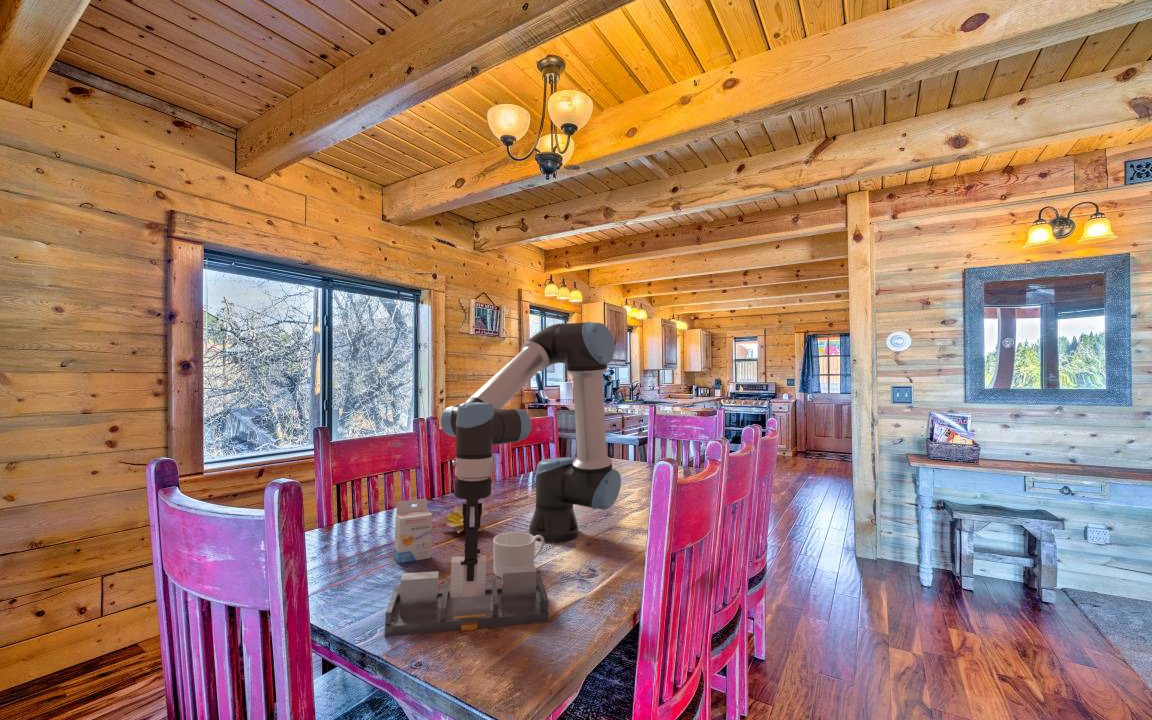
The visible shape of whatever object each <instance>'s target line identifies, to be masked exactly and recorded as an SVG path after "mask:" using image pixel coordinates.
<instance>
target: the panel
mask: <svg viewBox="0 0 1152 720" xmlns="http://www.w3.org/2000/svg"><path fill="white" fill-rule="evenodd" d="M464 560H465V556H452V557H451V564H450V565H451V566H450V567H451V568H450V582H449V591H450V598H458V597H463V572H464V565H461V561H464ZM477 560H478V562H477V592H476V596H465V597H477V596H485V588H486V584H487V555H477Z"/></svg>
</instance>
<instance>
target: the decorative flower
mask: <svg viewBox="0 0 1152 720" xmlns="http://www.w3.org/2000/svg"><path fill="white" fill-rule="evenodd" d="M478 503H482V515H481V519H482V518H483V517H484V516H486V515H487V514H488V510H487V509H486V508H484V506H485V503H484V501H483V500H481V501H478ZM462 510H463V505H462V506H461V505H456V506H454V507H453V508H452V512H449V513H448V514H447V515H446V517H442V518H438V519H437V521H439V522H441V523H444V524H446V526H448V527H450V528H455V529H456V533H458V534H459V533H461V532H463V531H464V530H465V529H464V528H463V518H464V517H463V515H462ZM483 530H485V529H484V528H483V527H482V525H480V528H479V529H478V532H482V531H483ZM465 531H466V530H465Z"/></svg>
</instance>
